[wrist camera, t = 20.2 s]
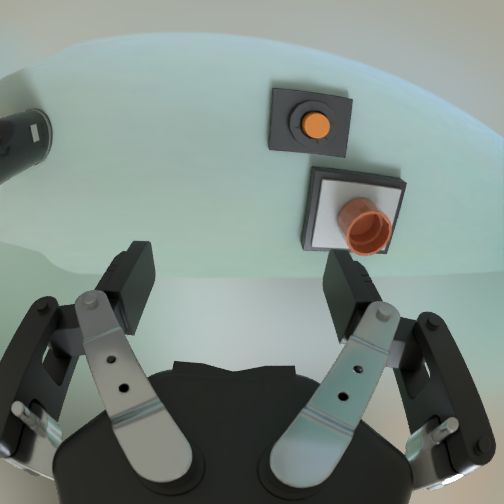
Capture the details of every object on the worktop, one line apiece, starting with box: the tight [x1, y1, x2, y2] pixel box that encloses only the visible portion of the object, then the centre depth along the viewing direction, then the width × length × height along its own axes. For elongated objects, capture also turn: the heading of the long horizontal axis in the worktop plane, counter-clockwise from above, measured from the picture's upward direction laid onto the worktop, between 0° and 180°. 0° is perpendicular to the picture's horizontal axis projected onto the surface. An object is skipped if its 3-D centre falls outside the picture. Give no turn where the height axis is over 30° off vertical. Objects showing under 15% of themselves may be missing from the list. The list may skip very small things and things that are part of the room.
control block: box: [268, 88, 353, 158], centre depth 31 cm, size 10×8×3 cm
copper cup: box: [337, 198, 392, 256], centre depth 35 cm, size 6×6×5 cm
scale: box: [301, 167, 407, 254], centre depth 38 cm, size 14×12×3 cm
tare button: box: [302, 112, 330, 138], centre depth 30 cm, size 3×3×2 cm
